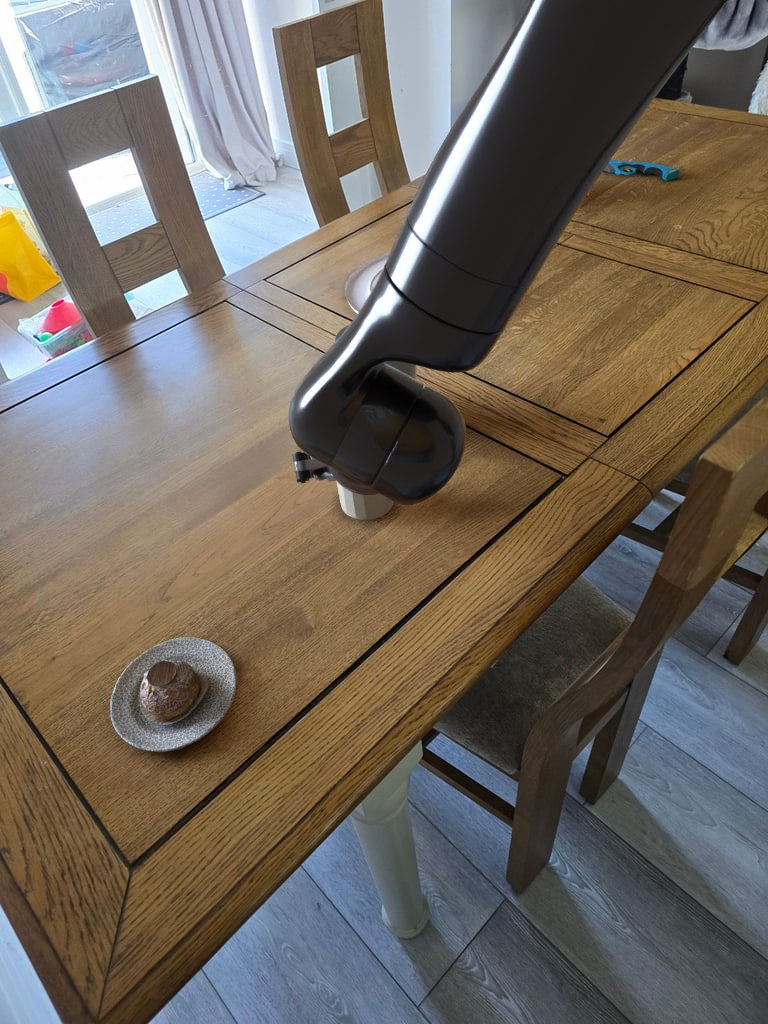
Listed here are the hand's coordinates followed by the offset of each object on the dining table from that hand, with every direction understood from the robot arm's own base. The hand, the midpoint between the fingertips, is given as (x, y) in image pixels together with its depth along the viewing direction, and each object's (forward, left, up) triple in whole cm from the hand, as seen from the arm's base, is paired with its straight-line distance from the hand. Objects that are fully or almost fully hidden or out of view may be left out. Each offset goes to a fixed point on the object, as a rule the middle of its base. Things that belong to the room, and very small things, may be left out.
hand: (364, 461), depth 74 cm
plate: (+1, -54, -9) cm, 55 cm away
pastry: (+14, +25, -9) cm, 30 cm away
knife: (-25, -105, -9) cm, 108 cm away
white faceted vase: (+1, -3, -9) cm, 10 cm away
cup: (+2, -18, -9) cm, 21 cm away
